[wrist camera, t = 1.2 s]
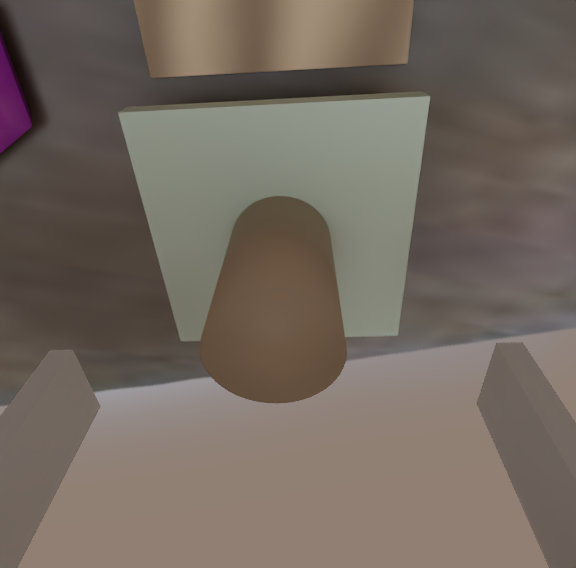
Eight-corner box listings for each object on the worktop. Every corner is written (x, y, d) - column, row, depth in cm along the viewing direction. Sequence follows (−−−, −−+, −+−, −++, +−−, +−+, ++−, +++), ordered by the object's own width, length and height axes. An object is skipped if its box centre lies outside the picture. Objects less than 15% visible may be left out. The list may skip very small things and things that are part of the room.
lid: (185, 328, 25) (136, 465, 18) (128, 106, 18) (2, 178, 10) (393, 322, 25) (436, 461, 17) (422, 91, 17) (520, 154, 10)
